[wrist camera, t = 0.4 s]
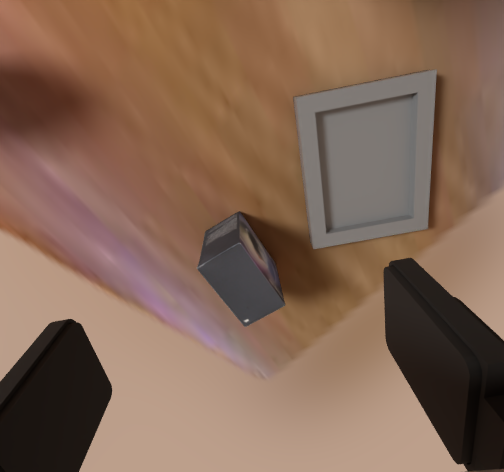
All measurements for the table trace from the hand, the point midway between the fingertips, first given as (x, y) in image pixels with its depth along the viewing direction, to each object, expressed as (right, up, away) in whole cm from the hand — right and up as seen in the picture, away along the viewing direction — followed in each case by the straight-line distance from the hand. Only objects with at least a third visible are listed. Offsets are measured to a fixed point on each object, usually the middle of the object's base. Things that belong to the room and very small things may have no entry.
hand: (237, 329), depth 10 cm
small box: (-1, +1, +38) cm, 38 cm away
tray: (+15, +12, +33) cm, 38 cm away
